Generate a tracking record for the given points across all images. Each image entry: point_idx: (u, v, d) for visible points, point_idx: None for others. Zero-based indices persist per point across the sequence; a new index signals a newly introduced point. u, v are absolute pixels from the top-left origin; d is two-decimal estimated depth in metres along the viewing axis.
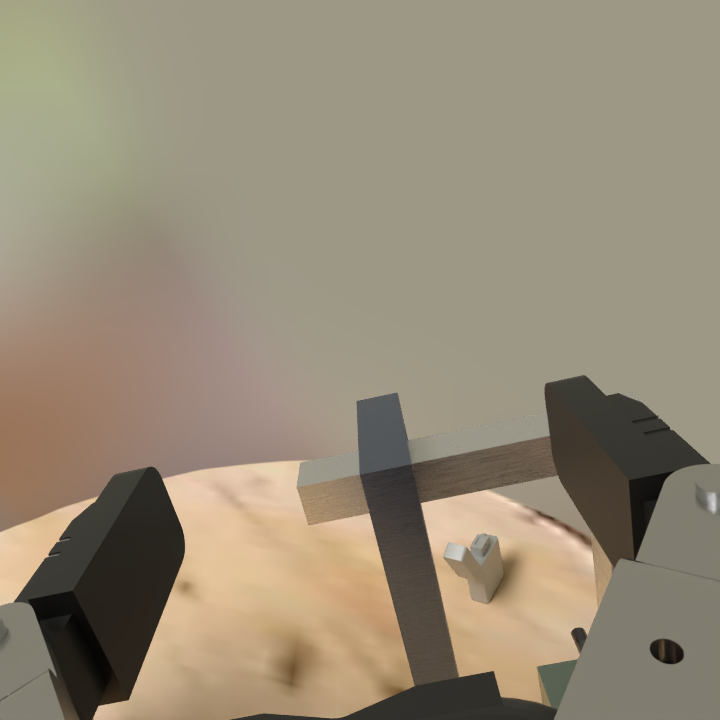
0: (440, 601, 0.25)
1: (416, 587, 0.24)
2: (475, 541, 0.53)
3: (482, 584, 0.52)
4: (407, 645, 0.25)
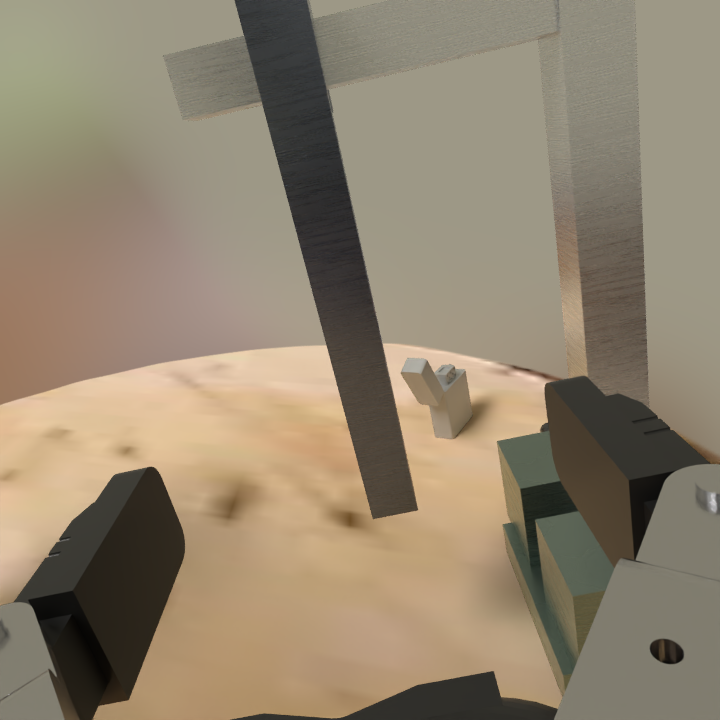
0: (349, 201, 0.19)
1: (317, 176, 0.19)
2: (439, 370, 0.47)
3: (447, 414, 0.46)
4: (311, 271, 0.20)
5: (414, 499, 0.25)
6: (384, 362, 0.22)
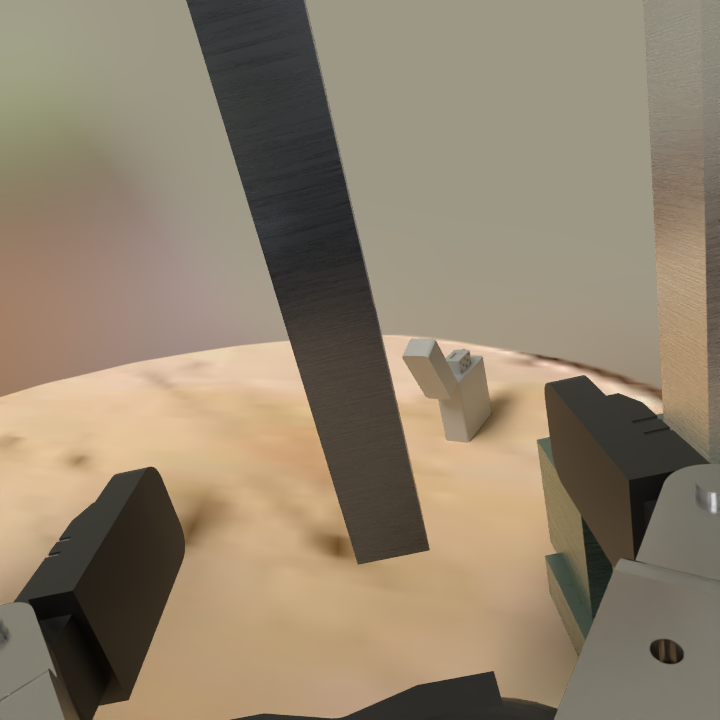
0: None
1: None
2: (451, 356, 0.38)
3: (461, 411, 0.37)
4: (230, 121, 0.11)
5: (423, 533, 0.16)
6: (369, 298, 0.13)
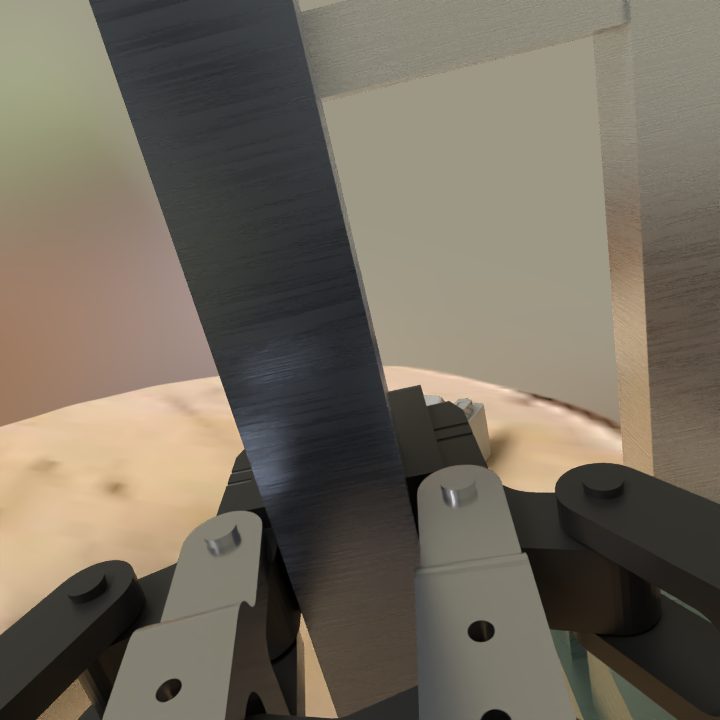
0: None
1: None
2: None
3: None
4: (149, 137, 0.06)
5: None
6: (387, 424, 0.08)
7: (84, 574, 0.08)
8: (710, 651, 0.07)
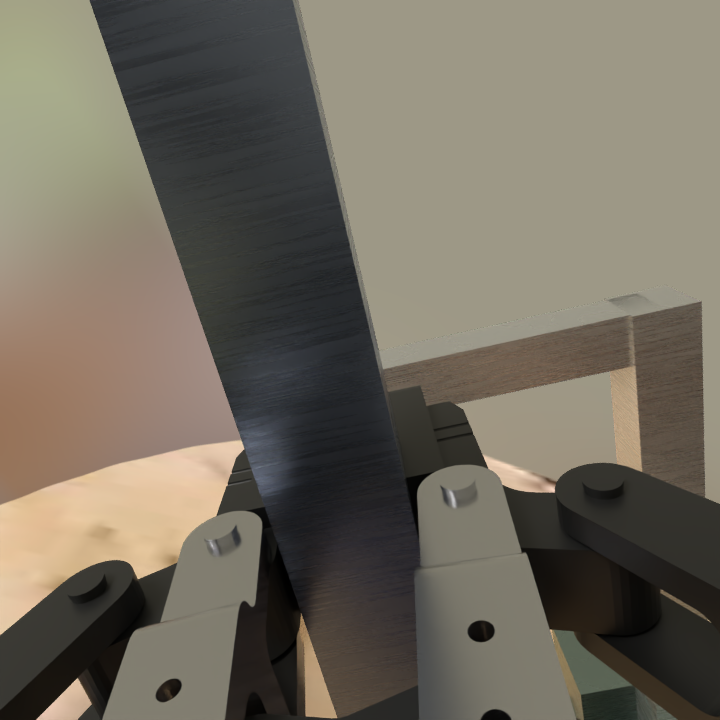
0: None
1: None
2: None
3: None
4: (163, 179, 0.07)
5: None
6: (394, 453, 0.08)
7: (84, 574, 0.08)
8: (710, 651, 0.07)
